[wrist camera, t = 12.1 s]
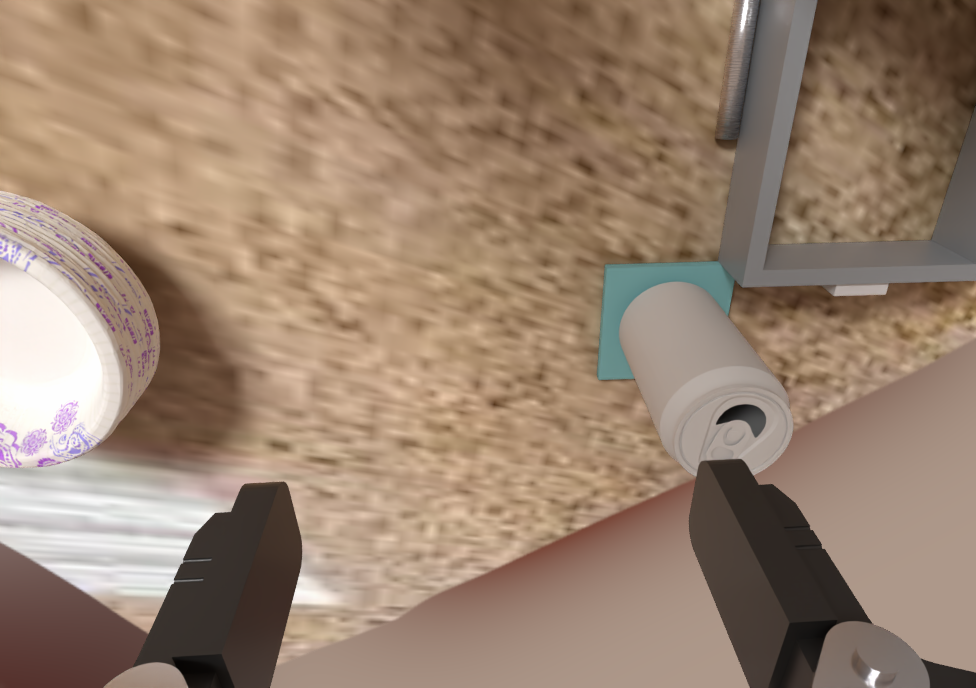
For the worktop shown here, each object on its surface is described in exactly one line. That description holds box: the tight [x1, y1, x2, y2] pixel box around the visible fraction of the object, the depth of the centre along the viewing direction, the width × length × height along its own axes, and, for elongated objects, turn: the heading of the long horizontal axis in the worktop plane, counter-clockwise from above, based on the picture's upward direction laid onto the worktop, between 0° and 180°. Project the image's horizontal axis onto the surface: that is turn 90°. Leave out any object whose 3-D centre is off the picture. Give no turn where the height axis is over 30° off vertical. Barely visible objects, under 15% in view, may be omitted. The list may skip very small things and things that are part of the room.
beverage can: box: [619, 282, 793, 477], centre depth 35 cm, size 6×6×12 cm
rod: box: [715, 0, 760, 140], centre depth 33 cm, size 9×1×1 cm, turn 1°
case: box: [718, 0, 976, 296], centre depth 34 cm, size 19×14×4 cm
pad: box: [597, 261, 735, 380], centre depth 41 cm, size 8×8×1 cm
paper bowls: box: [0, 191, 160, 468], centre depth 36 cm, size 15×15×8 cm
